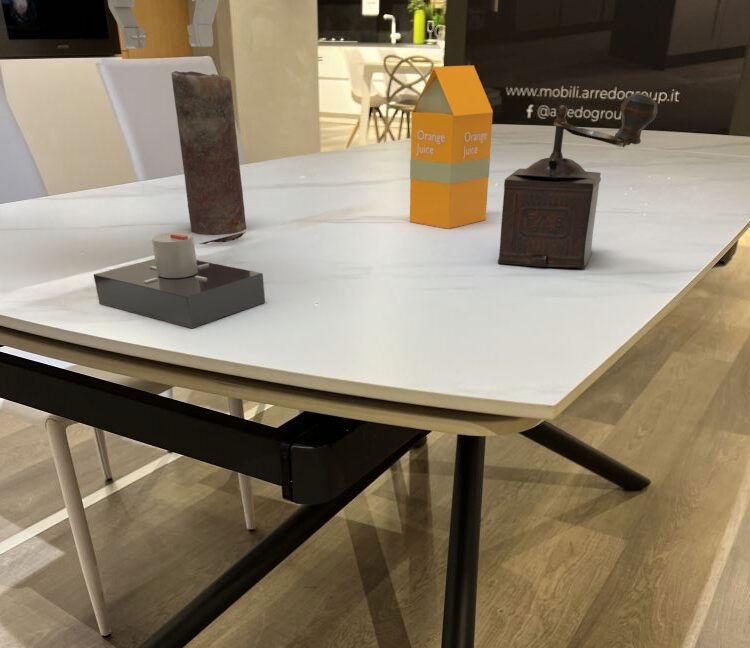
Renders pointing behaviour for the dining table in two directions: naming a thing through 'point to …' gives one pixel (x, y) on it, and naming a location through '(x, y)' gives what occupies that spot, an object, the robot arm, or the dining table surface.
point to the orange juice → (450, 149)
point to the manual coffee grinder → (561, 196)
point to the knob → (175, 255)
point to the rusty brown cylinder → (209, 154)
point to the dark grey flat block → (181, 292)
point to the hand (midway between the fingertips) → (167, 47)
